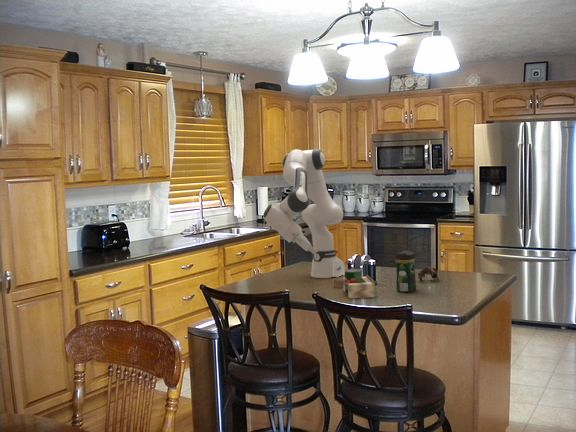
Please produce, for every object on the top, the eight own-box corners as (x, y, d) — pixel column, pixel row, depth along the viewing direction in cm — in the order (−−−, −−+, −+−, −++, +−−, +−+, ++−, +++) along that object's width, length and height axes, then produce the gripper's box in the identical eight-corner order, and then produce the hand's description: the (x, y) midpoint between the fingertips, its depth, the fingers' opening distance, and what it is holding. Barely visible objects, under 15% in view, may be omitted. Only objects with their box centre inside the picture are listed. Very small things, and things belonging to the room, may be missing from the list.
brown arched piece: (436, 284, 299) (426, 270, 300) (421, 291, 306) (412, 277, 306) (446, 274, 308) (437, 260, 308) (431, 281, 314) (422, 267, 315)
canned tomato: (343, 295, 281) (342, 271, 280) (347, 292, 288) (346, 268, 287) (361, 295, 278) (360, 271, 278) (364, 292, 286) (363, 268, 285)
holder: (349, 298, 274) (349, 283, 273) (343, 290, 293) (343, 276, 292) (375, 297, 274) (374, 281, 274) (367, 288, 293) (367, 274, 293)
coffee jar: (402, 288, 291) (401, 249, 290) (418, 289, 287) (417, 249, 285) (393, 292, 284) (392, 251, 282) (409, 293, 279) (408, 252, 278)
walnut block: (337, 286, 304) (337, 278, 304) (346, 286, 302) (346, 278, 302) (333, 288, 300) (333, 280, 299) (343, 288, 297) (343, 280, 297)
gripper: (299, 230, 269) (322, 251, 271) (296, 225, 290) (317, 244, 291) (289, 241, 270) (312, 261, 271) (287, 235, 290) (308, 254, 291)
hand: (315, 253), depth 281 cm, fingers closed
